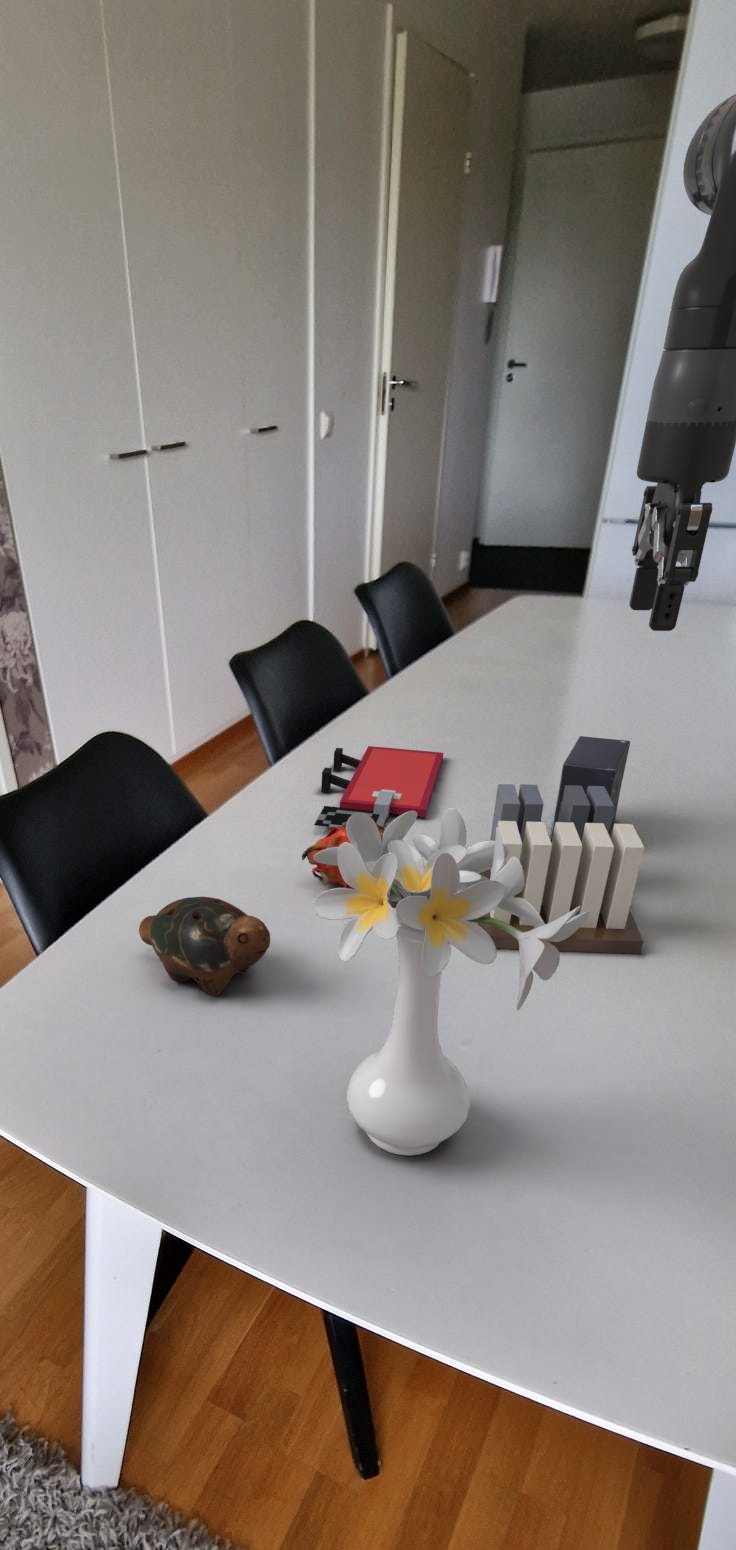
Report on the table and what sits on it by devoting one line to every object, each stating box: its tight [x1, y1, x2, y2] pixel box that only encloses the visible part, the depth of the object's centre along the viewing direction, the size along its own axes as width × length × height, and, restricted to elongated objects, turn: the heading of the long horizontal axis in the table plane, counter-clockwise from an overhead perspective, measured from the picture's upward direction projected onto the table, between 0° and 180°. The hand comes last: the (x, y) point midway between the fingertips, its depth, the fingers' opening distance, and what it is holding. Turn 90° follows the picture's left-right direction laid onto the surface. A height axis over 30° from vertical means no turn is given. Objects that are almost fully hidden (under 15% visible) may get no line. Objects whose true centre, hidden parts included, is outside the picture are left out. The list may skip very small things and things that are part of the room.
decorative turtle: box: [138, 896, 271, 997], centre depth 89 cm, size 10×15×8 cm, turn 61°
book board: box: [473, 869, 645, 955], centre depth 100 cm, size 16×20×2 cm
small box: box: [550, 735, 631, 844], centre depth 112 cm, size 11×6×10 cm, turn 154°
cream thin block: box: [542, 822, 582, 923], centre depth 93 cm, size 2×6×9 cm, turn 173°
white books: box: [490, 821, 645, 929], centre depth 93 cm, size 13×6×9 cm, turn 83°
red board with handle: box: [313, 745, 444, 828], centre depth 126 cm, size 30×3×15 cm
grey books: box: [489, 783, 614, 872], centre depth 101 cm, size 11×6×9 cm, turn 83°
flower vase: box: [312, 807, 590, 1157], centre depth 65 cm, size 13×18×25 cm
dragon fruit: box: [301, 822, 399, 889], centre depth 103 cm, size 8×8×12 cm
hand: (650, 619), depth 88 cm, fingers open, 8 cm apart
